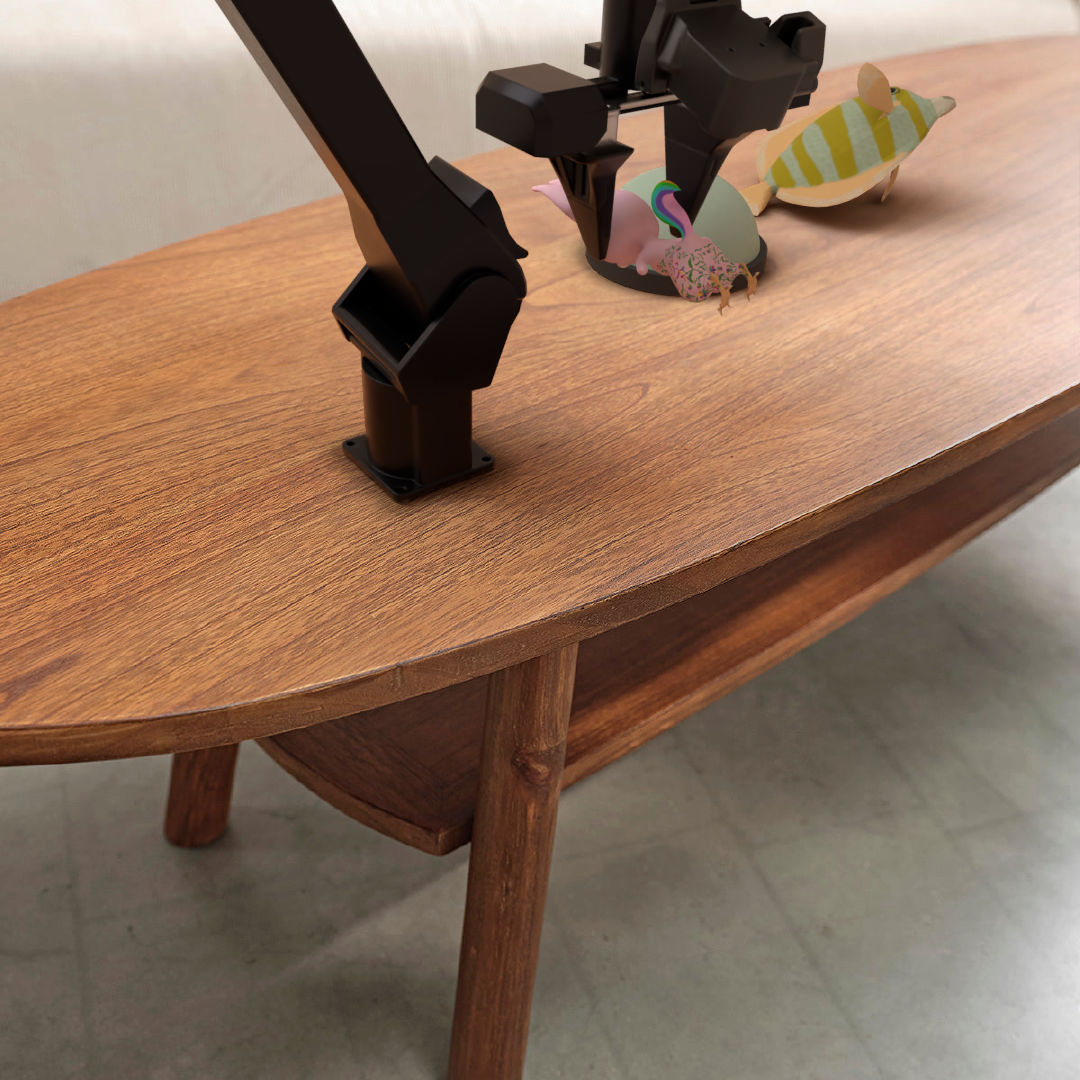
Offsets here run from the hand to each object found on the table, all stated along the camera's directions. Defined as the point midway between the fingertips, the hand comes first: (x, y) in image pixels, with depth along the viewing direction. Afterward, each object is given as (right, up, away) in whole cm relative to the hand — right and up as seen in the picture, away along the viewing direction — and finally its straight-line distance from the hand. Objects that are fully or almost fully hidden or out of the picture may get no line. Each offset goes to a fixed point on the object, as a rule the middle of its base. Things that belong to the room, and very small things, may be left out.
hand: (638, 247), depth 63 cm
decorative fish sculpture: (+20, +14, +37) cm, 44 cm away
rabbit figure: (0, -1, +1) cm, 1 cm away
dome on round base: (+5, +1, +28) cm, 29 cm away
